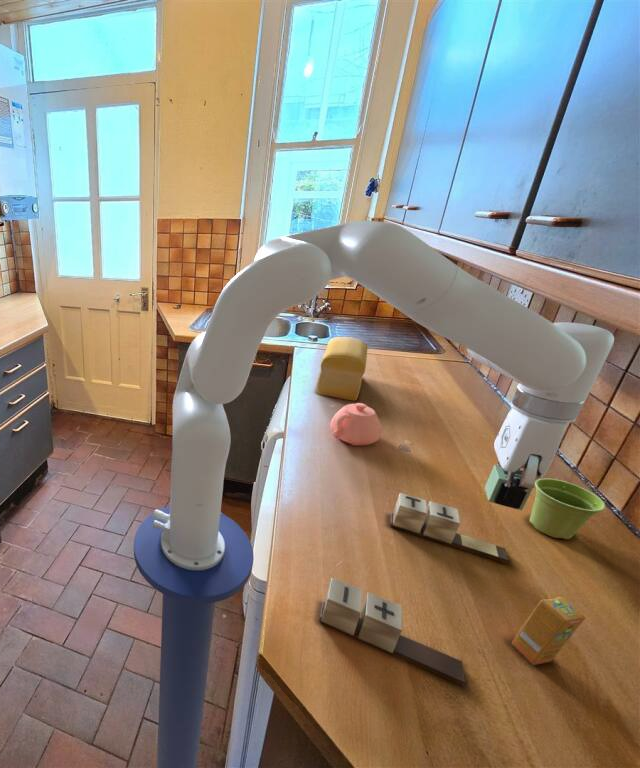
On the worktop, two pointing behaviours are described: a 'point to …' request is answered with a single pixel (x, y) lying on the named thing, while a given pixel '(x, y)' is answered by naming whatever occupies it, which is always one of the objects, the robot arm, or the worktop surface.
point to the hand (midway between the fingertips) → (503, 495)
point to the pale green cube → (495, 482)
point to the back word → (439, 526)
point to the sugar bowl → (356, 424)
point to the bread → (342, 368)
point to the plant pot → (562, 507)
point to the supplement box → (547, 630)
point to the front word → (383, 629)
